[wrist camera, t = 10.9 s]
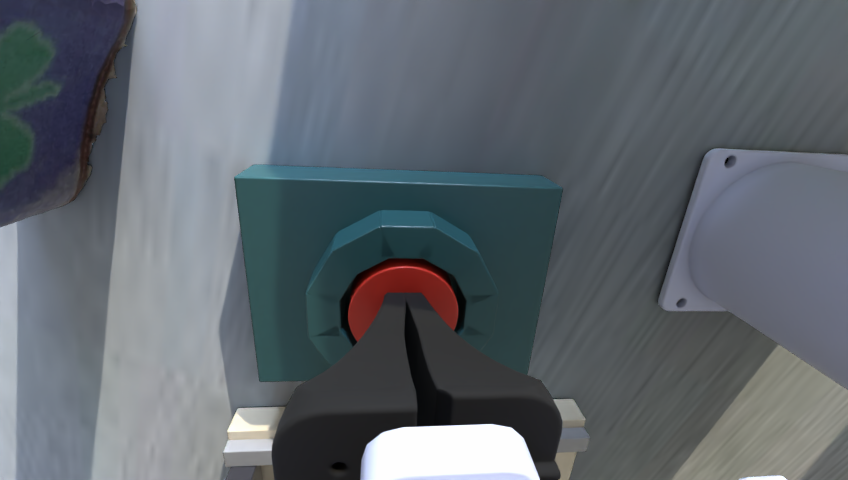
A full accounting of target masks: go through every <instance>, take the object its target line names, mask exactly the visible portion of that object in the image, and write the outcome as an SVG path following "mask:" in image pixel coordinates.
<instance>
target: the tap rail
mask: <svg viewBox="0 0 848 480" xmlns="http://www.w3.org/2000/svg"><path fill="white" fill-rule="evenodd" d="M553 400H554V402H555V404H556V406H557V408H558V409H559V411H560V414H561V418H562V421H563V425H562V434H561V438H560V442H559V446H558V450H557V454H556V458H555V461H556V463H557V465H558V468H559V470H560V473H561V477H560V479H558V480H569V478H570V475H571V471H572V467H573V464H574V460H575V456H576V453H577V452H586V450H587V447H588V444H589V440H590V437H589V435H588V433H587V432H586V430H585V428H584V424H585V418H584V416H583V414H582V413H581V411H580V409H579V408H578V406H577V404H576V403H575V401H574V399H553ZM285 408H286V407H255V408H238V409H237V411H236V413H235V415H234V417H233V420H232V422H231V424H230V426H229V429H228V431H227V434H228V442H227V444H226V446H225V448H224V451H223V456H224V461H225V467H230V470H229V472H228V475H227V477H226V480H274V473H273V465H272V456H271V454H272V443H273V440H274V437H275V434H276V430H277V427H278V424H279V421H280V419H281V416H282V414H283V412H284V410H285Z"/></svg>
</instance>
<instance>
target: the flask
mask: <svg viewBox="0 0 848 480" xmlns="http://www.w3.org/2000/svg"><path fill="white" fill-rule="evenodd" d="M136 13H137V7H136V4H135V0H0V227H2V226H5V225H8V224H12V223H14V222H17V221H20V220H23V219H25V218H28V217H31V216H33V215H37V214H41V213H44V212H46V211H49V210H52V209H55V208H58V207H61V206H64V205H66V204H68V203H70V202H71V201H73V200H75V198H76V197H77V195H78V193H79V192H80V191H81V190H82V188H83V187H84V185H85V182H86V180H87V179H88V177H89V176H90V175H91V170H92V166H90V165H89V166H88V164H87V162H89V155H90V153H91V149H92V147H93V145H92V143H94V142H95V141H96V139H95V138H96V136H97V135H100V133H101V128H102V125H103V123H106V119H105V115H106V113H107V111H108V108H107V102H106V101H105V99H106V96H105V90H104V87H105V84H106V82H107V80H108V79H111V78H117V77H116V75H115V69H114V62H113V61H114V59H115V56H116V53H117V52H118V51H119V50H120V49H121V48H122V47H123V46H124V47H126V46H127V45H126V44H125V41H126V37H127V33H128V32H129V30H130V29H131V24H132V21H133V18H135V15H136Z"/></svg>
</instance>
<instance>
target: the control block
mask: <svg viewBox="0 0 848 480" xmlns="http://www.w3.org/2000/svg"><path fill="white" fill-rule="evenodd" d="M234 180H235V188H236V196H237V204H238V213H239V221H240V229H241V237H242V245H243V253H244V261H245V269H246V278H247V286H248V294H249V302H250V310H251V318H252V326H253V334H254V342H255V351H256V359H257V367H258V375H259V381H260V382H279V381H309V380H311V379H312V378H314V377H316V376H318V375H319V374H321V373H323V372H324V371H326V370H327V369H329V368H330V367H331V366H333V365H334V364H335V363H337V362H338V361H339V360H340V359H341V358H342V357H344V356H345V355H346V354H347V353H348V352H349V351H350V350H351V349H352V348H353V347H354V346H355V344H356V343H357V341H356V339H355V338H354V336H353V334H352V332H351V330H350V326H349V323H348V308H349V302H350V296H351V289H352V284H353V281H354V279H355V277H356V276H357V274H359V273H361V272H363V271H365V270H367V269H369V268H371V267H373V266H375V265H377V264H379V263H381V262H383V261H385V260H387V259H389V258H401V259H425V260H427V261H428V262H430V263H432V264H434V265H435V266H437V267H439V268H441V269H443V270H444V271H446V272H447V274H448V276H449V278H450V281H451V284H452V287H453V290H454V293H455V296H456V300H457V303H458V320H457V324H456V327H455V329H454V332H455V333H457V334H458V335H459V336H460V337H461V338H462V339H464V340H465V341H466V342H468V343H469V344H470V345H471V346H473V347H474V348H476V349H477V350H479V351H480V352H482V353H483V354H485V355H486V356H488V357H490V358H491V359H493V360H495V361H497V362H499V363H501V364H503V365H505V366H507V367H509V368H511V369H513V370H515V371H518V372H520V373H523V374H525V375H527V373H528V368H529V363H530V358H531V353H532V347H533V342H534V337H535V332H536V327H537V321H538V316H539V311H540V306H541V301H542V296H543V290H544V285H545V280H546V275H547V270H548V264H549V259H550V254H551V249H552V244H553V238H554V233H555V228H556V223H557V218H558V213H559V207H560V202H561V197H562V192H563V188H562V187H560V186H559V185H557V184H555V183H554V182H552V181H550V180H549V179H547V178H545V177H543V176H542V175H518V174H491V173H465V172H438V171H412V170H385V169H358V168H332V167H305V166H278V165H252V166H251V167H249V168H248V169H246V170H244V171H243V172H241V173H240V174H238V175H237V176H235V178H234Z"/></svg>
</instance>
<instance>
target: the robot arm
mask: <svg viewBox="0 0 848 480" xmlns="http://www.w3.org/2000/svg"><path fill="white" fill-rule="evenodd" d="M728 157H729V160H728V162H727V164H725V165H724V163H725V160H726V158H728ZM680 299H681V300H680ZM678 300H680V301H679V302H678ZM677 302H678V303H677ZM658 304H659V306H660V307H661V308H663V309H664V310H665V311H730V312H731V313H733V314H734V315H736V316H737V317H739V318H740V319H742V320H743V321H745V322H746V323H748V324H749V325H751V326H752V327H754V328H755V329H757V330H758V331H760V332H761V333H763V334H764V335H766V336H767V337H769V338H770V339H772V340H773V341H775V342H776V343H778V344H779V345H781V346H782V347H784V348H785V349H787V350H788V351H790V352H791V353H793V354H794V355H796V356H797V357H799V358H800V359H802V360H803V361H805V362H806V363H808V364H809V365H811V366H812V367H814V368H815V369H817V370H818V371H820V372H821V373H823V374H824V375H826V376H828V377H829V378H831V379H832V380H834V381H835V382H837V383H838V384H840V385H841V386H843V387H844V388H846V389H847V390H848V154H827V153H806V152H785V151H765V150H744V149H723V148H716V149H712V150H710V151H708V153H707V154H706V155H705V156H704V158H703V161H702V164H701V167H700V170H699V173H698V176H697V180H696V183H695V186H694V189H693V192H692V195H691V198H690V202H689V205H688V208H687V211H686V214H685V217H684V220H683V223H682V227H681V230H680V233H679V236H678V239H677V242H676V245H675V249H674V252H673V255H672V258H671V261H670V264H669V267H668V271H667V274H666V277H665V280H664V283H663V286H662V289H661V293H660V296H659V299H658ZM562 425H563V421H562V418H561V414H560V411H559V409H558V408H557V406H556V404H555V402H554V400H553V399H552V397H551V395H550V394H549V392H548V391H547V389H546V388H545V386H544V385H543V383H542V382H541V380H539V379H536V378H533V377H531V376H528V375H525V374H523V373H520V372H518V371H515V370H513V369H511V368H509V367H507V366H505V365H503V364H501V363H499V362H497V361H495V360H493V359H491V358H490V357H488V356H486V355H485V354H483V353H482V352H480V351H479V350H477V349H476V348H474V347H473V346H471V345H470V344H469V343H468V342H466V341H465V340H464V339H462V338H461V337H460V336H459V335H458V334H457V333H455V332H454V331H453V330H452V329H451V328H450V327H449V326H448V325H447V324H446V322H445V321H444V320H443V319H442V318H441V317H440V316H439V314H438V313H437V312H436V311H435V310H434V308H433V307H432V306H431V304H430V303H429V302H428V300H427V299H426V298H425V296H424V295H423V294H422V293H390V292H388V293H386V294H385V295H384V300H383V303H382V305H381V307H380V309H379V311H378V313H377V315H376V317H375V318H374V320H373V322H372V323H371V325H370V326H369V328H368V329H367V331H366V332H365V333H364V335H363V336H362V337H361V339H360V340H359V341H358V342H357V343H356V344H355V346H354V347H353V348H352V349H351V350H350V351H349V352H348V353H347V354H346V355H345V356H344V357H342V358H341V359H340V360H339V361H338V362H337V363H335V364H334V365H333V366H331V367H330V368H329V369H327V370H326V371H324V372H323V373H321V374H319V375H318V376H316V377H314V378H312V379H311V380H309V381H307V382H305V383H303V384H301V385H299V386H298V387H297V388H296V389H295V391H294V393H293V395H292V396H291V398H290V400H289V402H288V404H287V406H286V408H285V410H284V412H283V414H282V416H281V419H280V421H279V424H278V427H277V430H276V434H275V437H274V440H273V443H272V454H271V456H272V465H273V473H274V480H558V479H560V477H561V473H560V470H559V468H558V465H557V463H556V461H555V458H556V454H557V450H558V446H559V442H560V438H561V434H562ZM739 480H786V479H785V478H784V477H783V476H779V475H775V476H757V477H745V478H740V479H739Z"/></svg>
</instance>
